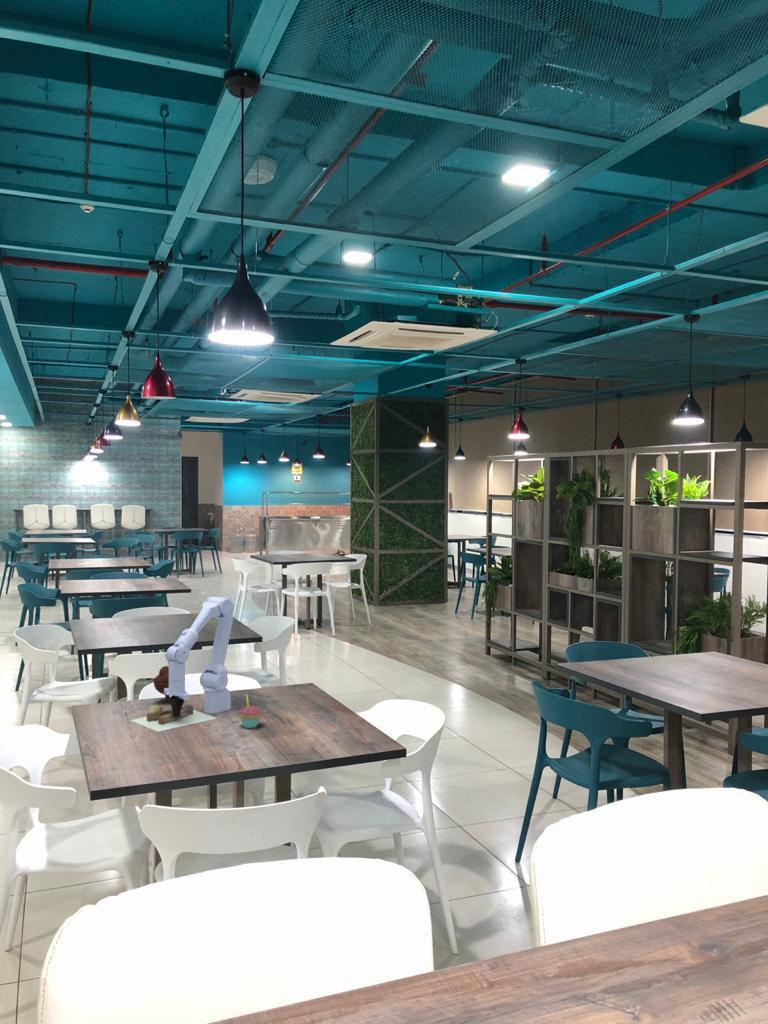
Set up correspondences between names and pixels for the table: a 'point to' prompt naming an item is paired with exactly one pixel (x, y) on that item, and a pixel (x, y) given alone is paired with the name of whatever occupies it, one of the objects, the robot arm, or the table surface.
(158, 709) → the pale yellow rectangular block
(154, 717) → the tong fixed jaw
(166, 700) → the ice cream bowl
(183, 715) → the tong jaw
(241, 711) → the cupcake
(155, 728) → the serving board
